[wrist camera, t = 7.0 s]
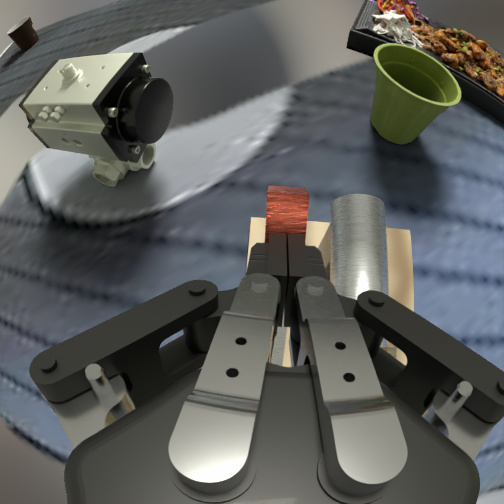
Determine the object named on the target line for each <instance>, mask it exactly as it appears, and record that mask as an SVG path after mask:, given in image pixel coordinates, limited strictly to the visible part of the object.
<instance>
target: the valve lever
mask: <svg viewBox="0 0 504 504" xmlns="http://www.w3.org/2000/svg"><path fill="white" fill-rule="evenodd" d="M308 204H309V194H308V192H307V191H306V190H305V188H296V187H282V186H269V188H268V191H267V207H266V226H265V243H269V234H270V232H271V233H286V243H287V234H304V238H305V239H306V228H307V216H308ZM286 333H287V327H284V312H283V321H282V327H278V329H277V335H276V336H275V341H274V348H273V355H272V361H271V363H272V364H276V365H280V366H282V365H283V357H284V349H285V341H286Z"/></svg>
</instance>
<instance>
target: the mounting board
mask: <svg viewBox="0 0 504 504" xmlns="http://www.w3.org/2000/svg"><path fill="white" fill-rule="evenodd" d="M329 225H330V223H326V222H313V221H307V228H306V239H305V244H306V245H307V246H316V247H317V248H318V246H319V245H320V243H321V241H322V239H323V237H324V235H325V233H326V231H327V229H328V227H329ZM265 226H266V218H253V217H251V227H250V238H249V249H248V260H247V267H248V262H249V256H250V251H251V247H252V246H254V245H255V244H256V243H265ZM386 234H387V251H388V279H389V296H390V297H391V298H393V299H394V300H396V301H398V302H399V303H401V304H402V305H404V306H405V307H407V308H409V309H410V310H412V311H413V312H414V287H413V263H412V248H411V236H410V230H403V229H393V228H386ZM246 272H247V271H246ZM289 336H290V327H287V333H286V341H285V349H284V357H283V365H282V366H284V367H291V359H290V350H289ZM387 347H396V346H394V345H393V344H391V343H390V342H389V341H388V344H387ZM396 359H397V360H399V361H400V362H401V363H403V364H404V365H405V366H406V364H407V358H406V355H405V354H404V353H403V352H402V351H401V350H400V349H398V348H397V354H396Z"/></svg>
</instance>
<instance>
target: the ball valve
mask: <svg viewBox="0 0 504 504" xmlns="http://www.w3.org/2000/svg"><path fill="white" fill-rule="evenodd" d="M19 106H20V108H21V109H22V110H23V111H24V112H25V113H26V116H27V120H28V122H29V125H28V128H29V129H30V130H31V132H32V133H33V134H34V135H35V136H36V137H37V138H38V139H39V140H40V141H41V142H42V143H43V144H44V145H45V146H46V147H47V148H51V149H57V150H64V151H70V152H76V153H81V154H87V155H89V158H93V159H94V165H95V167H94V169H93V171H92V175H93V177H94V178H95V179H96V180H98V181H99V182H101V183H103V184H105V185H107V186H112V187H114V186H116V184H117V182H118V180H119V179H123V178H124V177H125V175H126V173H127V171H128V170H132V171H138V170H140V169H141V168H146V169H148V168H149V167H150V166H151V165H152V163H153V161H154V158H155V154H156V147H155V142H157V141H158V140H159V139H160V138H161V137H162V136H163V134H164V133H165V131H166V129H167V127H168V125H169V122H170V119H171V115H172V111H173V93H172V89H171V87H170V85H169V83H168V82H167V81H166V80H165V79H163V78H152V77H151V74H150V66H149V65H147V64H146V61H145V59H144V56H143V54H142V53H120V54H105V55H94V56H85V57H77V58H69V59H63V60H56V61H54V62H53V63H52V64H51V65H50V67H49V68H48V69H47V70H46V71H45V72H44V73H43V75H42V76H41V77H40V78H39V79H38V81H37V82H36V83H35V84H34V86H33V87H32V88H31V89H30V91H29V92H28V93H27V94H26V96H25V97H24V98H23V100H22V101H21V102H20V104H19Z"/></svg>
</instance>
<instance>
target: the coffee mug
mask: <svg viewBox="0 0 504 504" xmlns="http://www.w3.org/2000/svg"><path fill="white" fill-rule="evenodd" d="M7 34H8V35H9V36H10V38H11V39H12V40H13V41H14V42H15V43H16V44H17V45H18V46H19V47H20V48H21V50H22V51H26V50H28V49H29V48H31V47H32V46H33V45H34V44H35V43H36V42H37V41H38V40H39V38H38V36H37V33H36V31H35V29H34V26H33V23H32V21H31V18H30V16H27V17H25V18H24V19H22V20H21V21H19V22H18V23H17V24H16V25H14V26H13V27H12V28H11V29H10V30H9V31H8V33H7Z"/></svg>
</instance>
